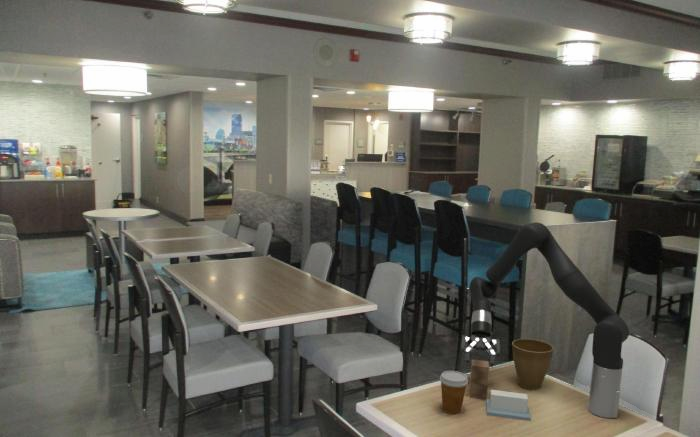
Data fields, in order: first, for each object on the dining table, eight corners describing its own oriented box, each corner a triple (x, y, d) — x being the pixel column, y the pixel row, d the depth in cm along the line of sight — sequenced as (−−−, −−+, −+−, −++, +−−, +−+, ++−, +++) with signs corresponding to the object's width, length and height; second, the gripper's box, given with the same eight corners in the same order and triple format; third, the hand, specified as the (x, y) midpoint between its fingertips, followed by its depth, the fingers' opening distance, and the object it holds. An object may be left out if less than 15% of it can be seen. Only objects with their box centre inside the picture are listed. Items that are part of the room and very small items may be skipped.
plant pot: (556, 386, 211) (560, 346, 209) (537, 397, 201) (541, 355, 199) (521, 373, 222) (524, 335, 219) (501, 383, 211) (504, 343, 209)
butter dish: (527, 407, 193) (528, 390, 192) (530, 420, 183) (532, 403, 182) (486, 401, 196) (487, 385, 195) (487, 414, 186) (488, 398, 185)
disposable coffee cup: (467, 405, 192) (470, 373, 190) (464, 418, 183) (466, 383, 181) (440, 400, 195) (442, 368, 193) (435, 412, 186) (437, 378, 184)
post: (486, 392, 203) (488, 361, 202) (486, 399, 197) (489, 367, 196) (469, 390, 204) (471, 359, 203) (469, 397, 199) (471, 365, 197)
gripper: (462, 318, 211) (460, 357, 202) (501, 322, 209) (500, 362, 199) (462, 327, 217) (459, 366, 208) (499, 331, 214) (498, 370, 205)
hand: (479, 364), depth 203 cm, fingers open, 8 cm apart
